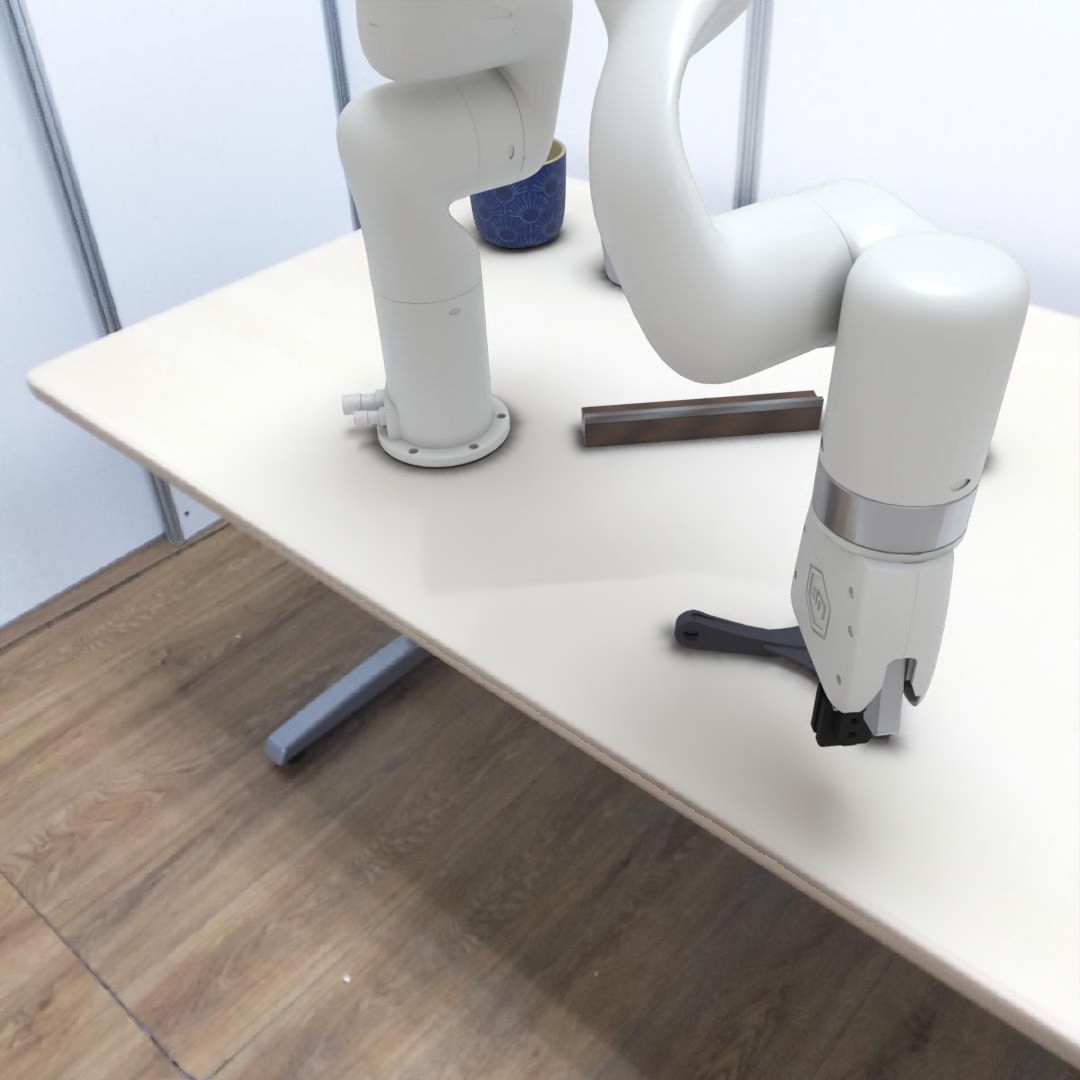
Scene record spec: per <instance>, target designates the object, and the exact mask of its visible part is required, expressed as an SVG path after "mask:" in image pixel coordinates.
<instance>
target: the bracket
mask: <svg viewBox="0 0 1080 1080" xmlns="http://www.w3.org/2000/svg"><path fill="white" fill-rule="evenodd" d="M673 634H674V635H673V636H674V638H675V641H676V642H678V643H679V645H682V646H684V647H687V648H691V649H699V650H709V651H718V652H728V653H735V654H737V653H738V654H745V655H746V654H747V655H756V656H764V657H773V658H782V659H786V660H787V661H790V662H792V663H794V664H796V665H798V666H800V667H803V668H804V669H805V670H808V671H810V672H812V673H813V674H814V675H815V676H817V677H818V678H819V676H818V674H817V672H816V669H815V667H814V664H813V662H812V659H811V656H810V654H809V651H808V649H807V646H806V644H805V641H804V638H803V636H802V633H801V630H800V628H799V625H795V626H789V627H784V628H783V627H782V628H771V629H769V628H763V627H759V626H753V625H747V624H744V623H740V622H738V621H734V620H730V619H727V618H723V617H719V616H716V615H712V614H709V613H706V612H704V611H702V610H698V609H689V610H686V611H683V612H681V613H680V614H679V615H678V616H677V617H676V619H675V626H674V633H673ZM891 736H892V735H881V736H874V735H873V734H872V736H871V738H875V739H879V740H881V739H887V738H890V737H891Z"/></svg>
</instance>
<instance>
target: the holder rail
mask: <svg viewBox="0 0 1080 1080" xmlns="http://www.w3.org/2000/svg"><path fill="white" fill-rule="evenodd" d="M824 399H825V398H824V397H823V396H822V395H820V396H818V395H817V394H816V391H815V390H814V389H811V390H810V389H808V390H798V391H797V390H795V391H785V392H784V391H783V392H782V391H781V392H771V393H770V392H768V393H757V394H743V395H729V396H727V395H726V396H715V397H703V398H700V397H699V398H689V399H676V400H675V399H674V400H662V401H648V402H646V401H645V402H634V403H633V402H632V403H623V404H622V403H621V404H619V403H618V404H608V405H607V404H605V405H595V406H582V407H581V410H580V411H581V413H580V415H581V433H582V438H583V443H584V447H586V448H587V447H601V446H616V445H626V444H627V445H628V444H630V445H631V444H642V443H654V442H669V441H681V440H694V439H708V438H720V437H721V438H722V437H733V436H735V437H736V436H746V435H747V436H749V435H759V434H760V435H761V434H773V433H775V434H776V433H787V432H801V431H814V430H819V429H820V425H821V420H822V413H823V407H824V401H825V400H824Z"/></svg>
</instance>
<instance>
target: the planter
mask: <svg viewBox="0 0 1080 1080" xmlns="http://www.w3.org/2000/svg"><path fill="white" fill-rule="evenodd" d="M566 190H567V147H566V145H565V144H564V143H563V142H562V141H560V140H559V139H557V138H555V137H554V138H553V142H552V146H551V149H550V152H549V155H548V157H547V160H546V161H545V163H544V164H543V166H542V167H541V168H540V169H539V171H538V172H536V173H535V174H534V175H532V176H530V177H528V178H526V179H524V180H521V181H519V182H516V183H512V184H509V185H505V186H502V187H498V188H495V189H491V190H487V191H484V192H480V193H476V194H473V195H469V201H470V207H471V213H472V218H473V223H474V226H475V228H476V231H477V233H478V234H479V236H480V237H481V238H482V239H484V240H485V241H486V242H487V243H490V244H492V245H494V246H497V247H502V248H508V249H525V248H531V247H536V246H540V245H543V244H545V243H547V242H549V241H550V240H552V239H553V238H555V237H556V236H557V235H558V234H559V232H560V231H561V229H562V226H563V223H564V219H565V213H566V212H565V211H566V197H567V191H566Z"/></svg>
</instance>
